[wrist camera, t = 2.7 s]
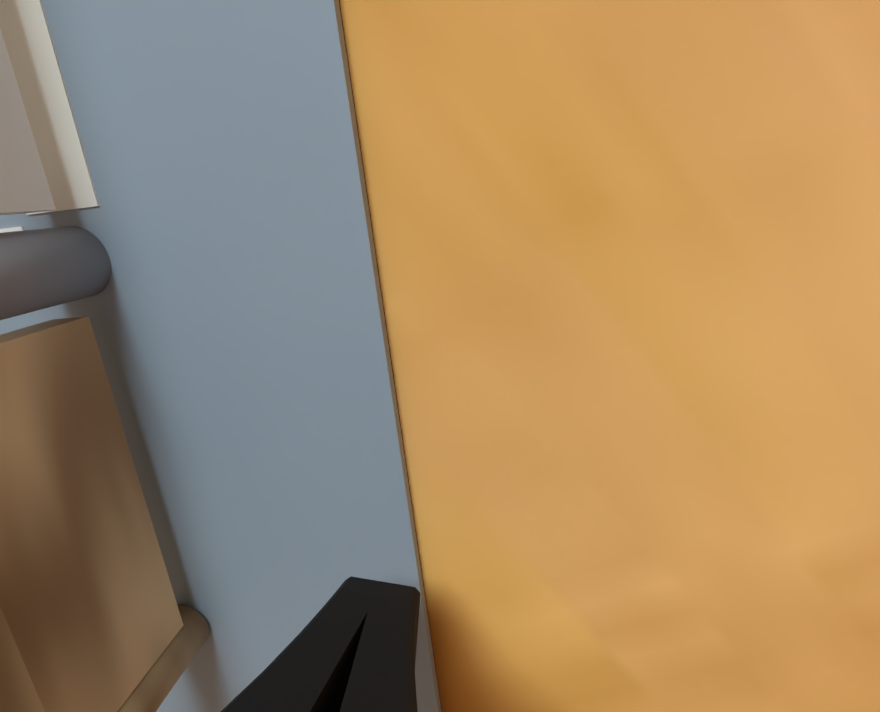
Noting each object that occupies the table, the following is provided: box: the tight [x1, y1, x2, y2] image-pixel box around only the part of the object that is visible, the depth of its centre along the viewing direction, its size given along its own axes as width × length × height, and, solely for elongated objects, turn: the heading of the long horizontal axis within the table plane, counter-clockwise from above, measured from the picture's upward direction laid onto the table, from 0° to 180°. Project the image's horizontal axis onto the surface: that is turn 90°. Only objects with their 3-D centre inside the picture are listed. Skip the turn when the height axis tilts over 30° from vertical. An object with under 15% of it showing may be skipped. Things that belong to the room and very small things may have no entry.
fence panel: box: [0, 316, 209, 712], centre depth 10 cm, size 8×1×5 cm, turn 6°
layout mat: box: [0, 0, 442, 712], centre depth 11 cm, size 16×23×1 cm
